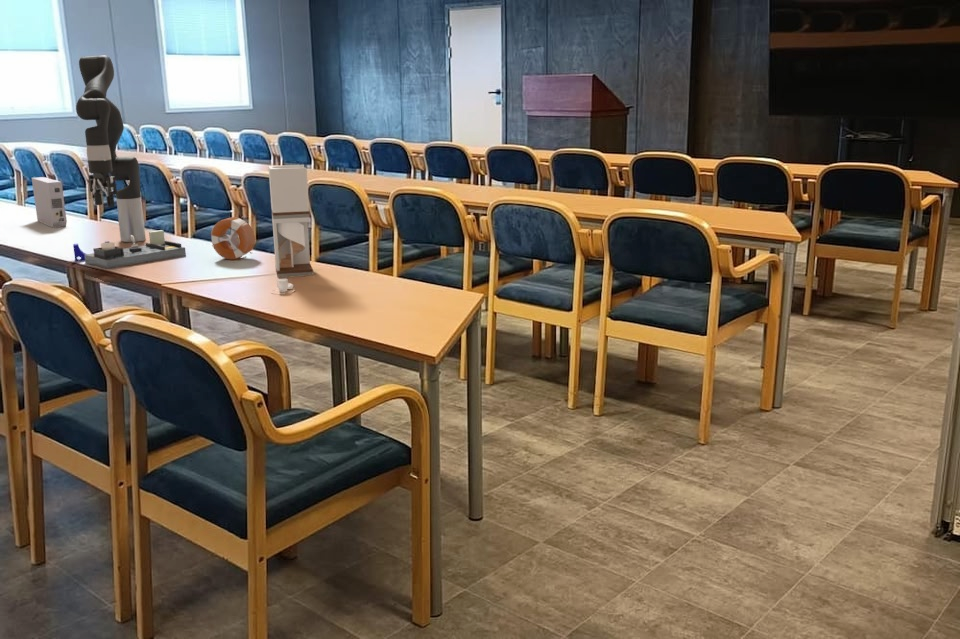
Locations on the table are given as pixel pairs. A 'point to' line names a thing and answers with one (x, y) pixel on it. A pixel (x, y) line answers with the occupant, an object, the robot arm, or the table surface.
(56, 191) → the game console
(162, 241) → the pale green eraser block
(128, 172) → the robot arm
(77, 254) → the cable clip
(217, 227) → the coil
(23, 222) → the table surface
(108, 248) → the button
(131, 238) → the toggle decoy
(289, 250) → the spiral ramp tower
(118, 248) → the panel
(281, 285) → the teacup and saucer
